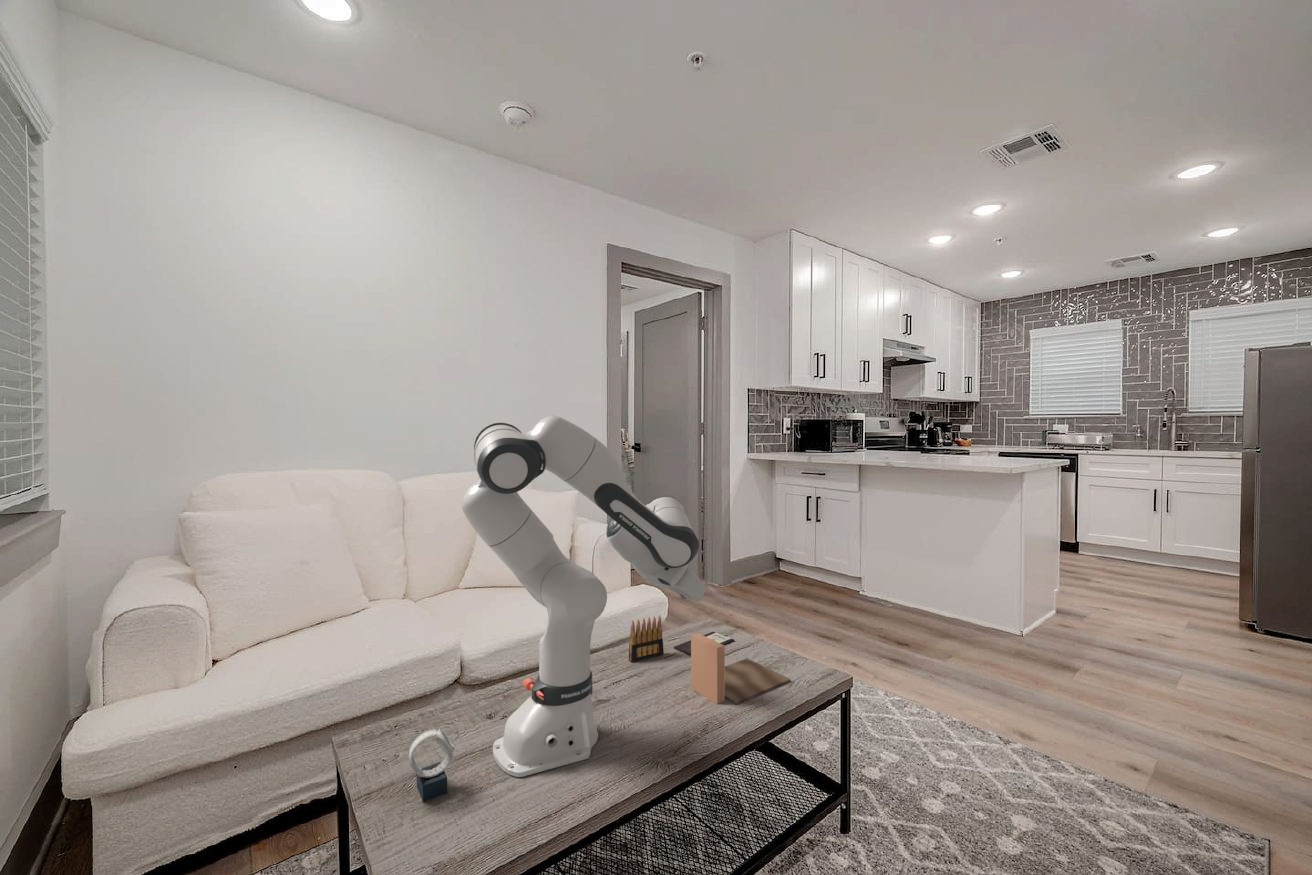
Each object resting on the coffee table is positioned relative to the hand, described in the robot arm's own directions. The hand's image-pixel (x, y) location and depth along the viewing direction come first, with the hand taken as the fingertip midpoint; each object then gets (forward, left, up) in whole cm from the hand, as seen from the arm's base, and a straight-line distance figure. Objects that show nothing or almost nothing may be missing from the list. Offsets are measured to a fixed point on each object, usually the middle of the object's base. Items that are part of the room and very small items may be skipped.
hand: (688, 596), depth 135 cm
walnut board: (+19, 0, -26) cm, 32 cm away
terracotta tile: (+6, 0, -26) cm, 27 cm away
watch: (-60, +4, -27) cm, 65 cm away
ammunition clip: (+6, +27, -27) cm, 38 cm away
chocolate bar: (+26, +24, -27) cm, 45 cm away
